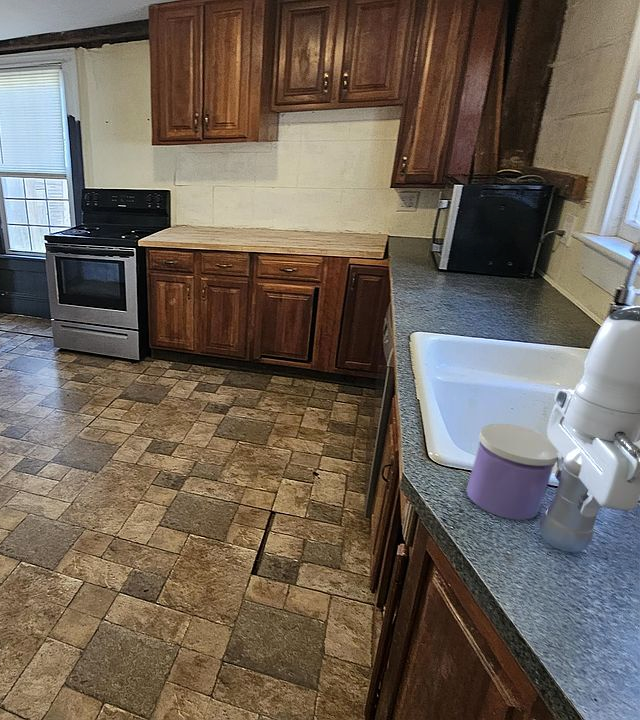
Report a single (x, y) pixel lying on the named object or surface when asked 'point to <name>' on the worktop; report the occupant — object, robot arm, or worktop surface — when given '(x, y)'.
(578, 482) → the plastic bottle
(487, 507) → the jar
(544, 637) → the worktop surface
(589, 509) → the robot arm
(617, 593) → the worktop surface
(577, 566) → the worktop surface
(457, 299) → the worktop surface
